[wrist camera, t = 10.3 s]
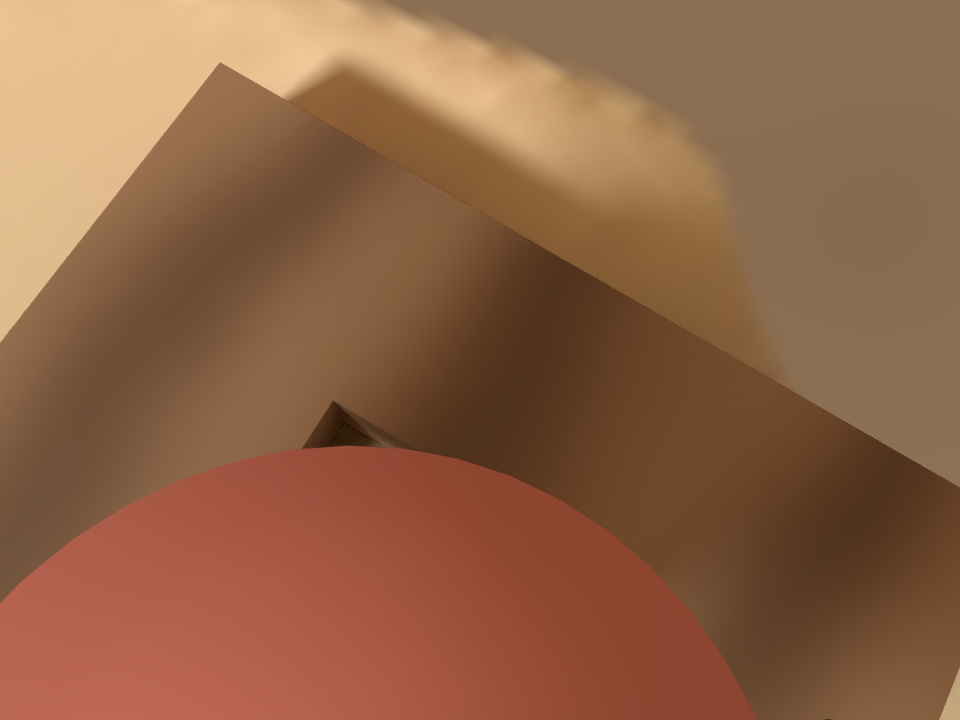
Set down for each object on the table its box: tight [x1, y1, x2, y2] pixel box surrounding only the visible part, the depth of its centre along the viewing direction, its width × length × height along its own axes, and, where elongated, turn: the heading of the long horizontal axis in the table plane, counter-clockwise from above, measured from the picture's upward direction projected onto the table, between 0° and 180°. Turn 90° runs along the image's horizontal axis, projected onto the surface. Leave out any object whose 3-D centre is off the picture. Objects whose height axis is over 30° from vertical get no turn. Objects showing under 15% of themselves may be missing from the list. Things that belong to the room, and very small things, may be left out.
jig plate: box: [0, 63, 960, 720], centre depth 15 cm, size 18×17×2 cm
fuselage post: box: [0, 446, 756, 720], centre depth 10 cm, size 5×5×13 cm
